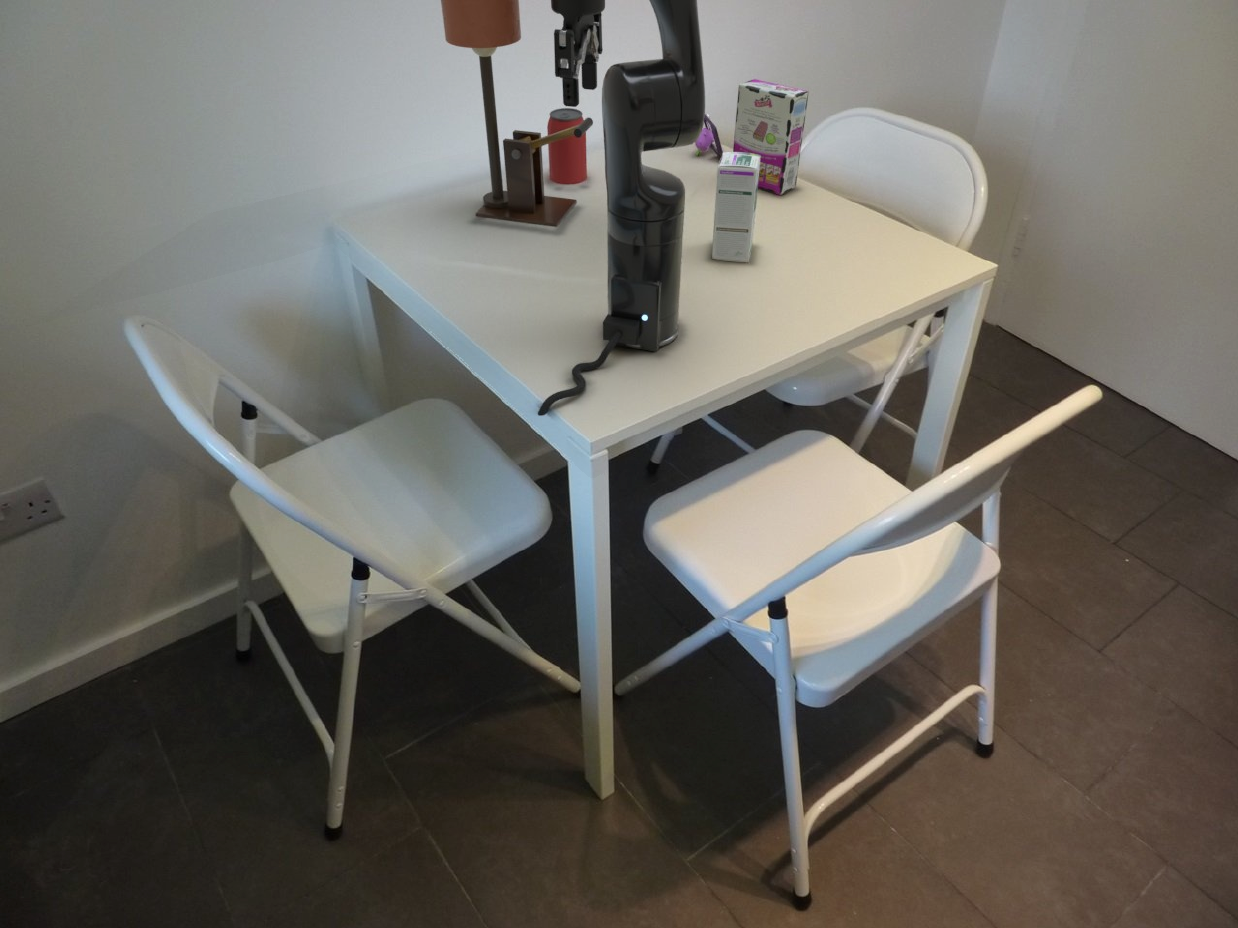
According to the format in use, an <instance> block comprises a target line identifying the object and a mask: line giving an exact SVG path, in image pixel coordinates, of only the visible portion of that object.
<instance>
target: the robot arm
mask: <svg viewBox="0 0 1238 928" xmlns="http://www.w3.org/2000/svg"><path fill="white" fill-rule="evenodd" d="M649 3H650V6H651V7H652V10H653V13H654V15H655V20H656V23H657V26H658V27H657V28H658V32H659V36H660V37H659V38H660V44H661V55H662V58H655V59H647V60H635V61H627V62H625V61H624V62H619V63H615V64H612V65H611V66H610V67H609V68H608V69H607V70H606V71H605V74H604V78H603V81H602V88H601V116H602V131H603V145H604V146H603V149H604V174H605V175H604V176H605V177H604V178H605V185H606V196H607V197H606V205H607V207H606V208H607V210H606V211H607V215H606V217H607V229H606V230H607V232H606V233H607V235H606V239H607V243H606V244H607V246H606V247H607V248H606V249H607V314H606V316H605V318H604V320H603V321H602V341H608V342H607V344H606V345H605V346H604V348H603V349H602V351H601V353H600V355H599V356H598V357H597V359H596V360H593V361H590V362H580V363H578V364H576V365H574V367H573V368H572V369H571V375H572V377H573V379H574V380H575V381H576V382H577V385H576V386H574V387H572V388H567V389H564V390H560V391H556V392H555V393H552V394H551V395H549V396H548V397H547V398H546V399H545V400H544V401H543V402H542V404H541V406H540V407H539V409H538V411H537V415H538V416H540V417H542V416H545V415H547V413H548V411H549V409H550V408H551V407H552V405H553V404H554V403H556V402H558V401H560V400H563V399H567V398H571V397H574V396H577V395H579V394H581V393H582V392H583V391H585V389H586V387H587V382H586V379H585V377H583V375H582V373H581V372H582V371H591V370H595V369H598V368H600V367H601V366H603V365H604V364H605V362H606V361H607V359H608V357H609V356H610V354H611V352H612V351H613V349H614V348H615V347H616V346H619V347H623V348H631V349H636V350H643V351H649V352H657V351H658V350H659V349H660V347H664V346H666V345H668V344H670V343H672V342H673V341H674V340H675V339H676V338H677V337H678V335H679V311H680V292H681V275H682V274H681V273H682V259H683V258H682V257H683V241H684V240H683V239H684V238H683V237H684V226H685V225H684V223H685V205H686V188H685V185H684V183H683V181H682V180H681V179H680V178H679V177H678V176H676V175H675V174H672V173H670V172H668V171H666V170H662V169H658V168H654V167H650V166H647V165H645V164H643V163H642V162H643V161H642V153H645V152H651V151H661V150H667V149H675V148H681V147H683V148H684V147H689V146H691V145H694V144H695V142H696V141H697V140H698V138H699V137H700V135H701V132H702V129H703V128H704V126H705V123H704V118H705V114H706V86H705V85H706V84H705V73H704V72H705V71H704V63H703V51H702V42H701V31H700V30H701V29H700V21H699V10H698V9H699V8H698V0H649ZM550 8H551V11H553V12H554V13H555V14H558V15H561V16H562V18H563V21H562V27H561V29H557V28H555V29H554V31H553V44H554V46H553V49H554V52H553V53H554V76H555V78H560V79H561V81H562V104H563V105H564V106H565V107H569V108H571V107H572V108H577V106H579V104H580V83H579V82H580V81H579V76H580V70H581V87H582V89H583V90H590V91H594V90H596V89H597V88H598V62H599V60H600V55H602V54H603V25H602V24H603V23H602V16H603V15H602V14H603V13H602V12H603V11H604V10H605V8H606V0H550ZM580 68H581V69H580ZM539 581H540V582H539V583H540V587H541V588H547V586H548V578H547V577H543V576H540V577H539Z"/></svg>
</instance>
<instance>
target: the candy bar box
mask: <svg viewBox="0 0 1238 928" xmlns="http://www.w3.org/2000/svg"><path fill="white" fill-rule="evenodd" d="M809 93H810V92H809V91H808V90H804V89H800V88H796V87H793V86H792V87H791V86H787V85H783V84H779V83H775V82H770V81H766V80H762V79H757V78H754V79H750V80H747V81H745V82H742V83H740V84H738V90H737V102H736V113H735V114H736V115H735V125H734V137H733V147H732V148H733V150H732V152H745V153H753V154H759V155H760V167H759V179H758V189H759V190H762V191H766V192H769V193H772V194H776V195H779V196H782V195H784V194H786V193H789V192H790V191H793V190H794V189H796V187H797V180H798V173H799V165H800V159H801V158H800V157H801V151H802V144H803V143H802V142H803V136H804V130H805V129H804V128H805V123H806V122H805V121H806V114H807V107H808V101H809V100H808V99H809Z"/></svg>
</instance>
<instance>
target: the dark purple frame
mask: <svg viewBox="0 0 1238 928" xmlns="http://www.w3.org/2000/svg"><path fill="white" fill-rule="evenodd" d="M710 118H711V117H710V115H709V114H708V113H705V118H704V127H703V129H702V132H701V135H700V137H699V138H698V140H697V141H696V142H695V143H694V145H695V147H696V149H697V151H696V152H695V153H696V154H695V157H698V156H699V155H700V153H701V152H706V151H707V150H709V148H710V147H711V148H712V149H713V151H714V152H715V154H717V156H718V158H720V159H721V157H722V154H723V152H724V150H723V148H722V144H721V140H720V137H719V132H718V129H717V126H716V125H715V124H714V123H713V121H712V120H711V119H710Z"/></svg>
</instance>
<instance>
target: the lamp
mask: <svg viewBox="0 0 1238 928" xmlns="http://www.w3.org/2000/svg"><path fill="white" fill-rule="evenodd" d="M440 5H441V11H442V22H443V29H444V38H445V41H446V43H447V44H450V45H452V46H455V47H459V48H467V49H472V52H474V54H476V56H478V59H479V60H478V61H479V69H480V70H479V71H480V80H481V90H482V101H483V111H484V112H483V113H484V121H485V132H486V142H487V143H486V144H487V151H488V163H489V173H490V183H491V191H489V192H487V193H485V194H484V195H483V197H482V202H483V203H482V204H483V206H484V205H485V206H486V207H489V208H494V209H501V208H506V207H508V195H507V192H505V191H506V190H504V185H503V184H504V183H503V174H502V173H503V171H502V162H501V151H500V140H499V129H498V128H499V127H498V118H497V117H498V116H497V104H496V95H495V94H496V93H495V83H494V72H493V71H494V70H493V59H492V56H493V55H494V54H495V53H496V51H497V49H498V48H501V47H505V46H506V47H507V46H509V45H513V44H515V43H517V42H519V41H520V40H521V39H522V31H521V15H520V14H521V12H520V0H440Z"/></svg>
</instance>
